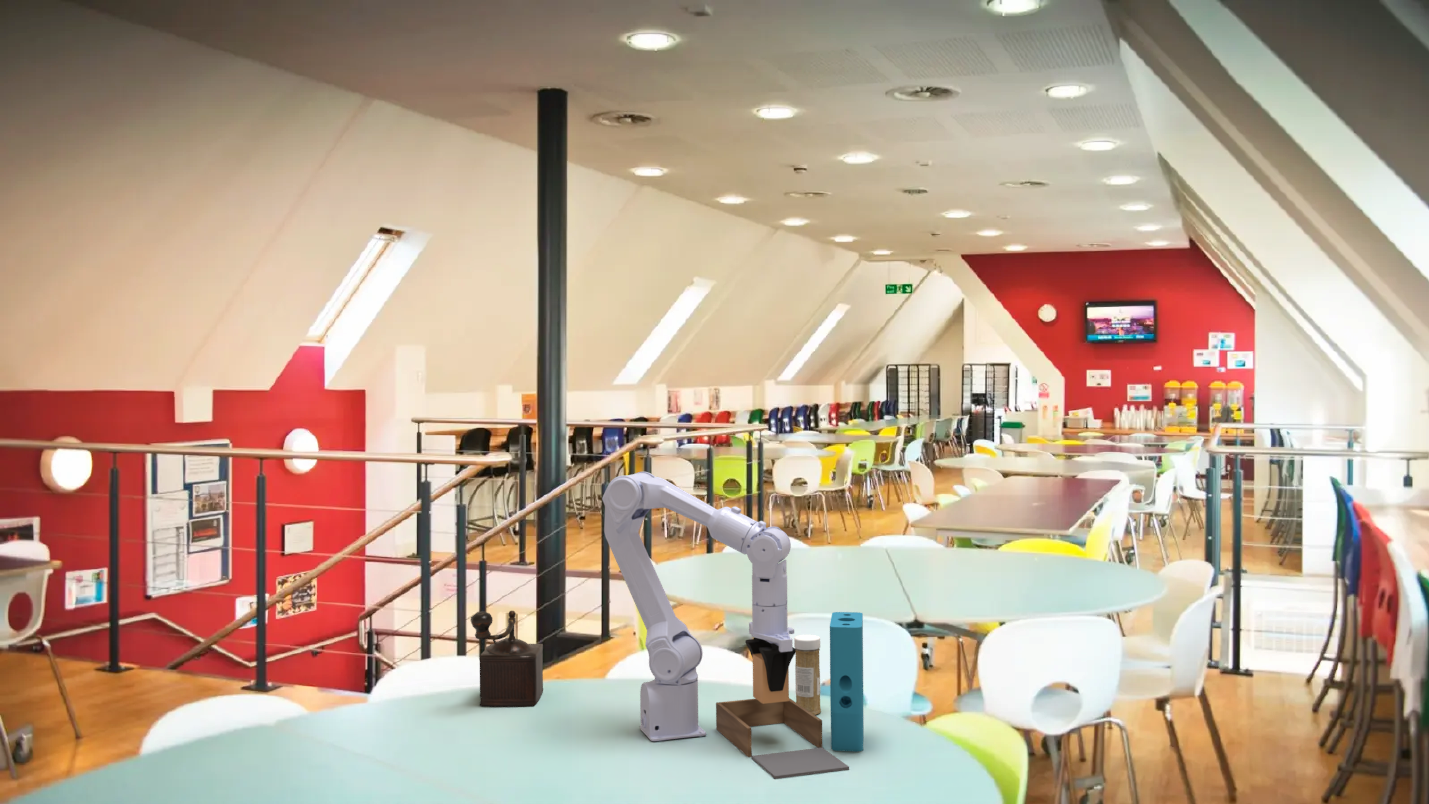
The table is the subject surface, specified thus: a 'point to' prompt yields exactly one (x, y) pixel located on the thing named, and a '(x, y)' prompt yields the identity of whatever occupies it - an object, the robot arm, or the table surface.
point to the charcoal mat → (799, 762)
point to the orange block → (766, 684)
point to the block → (846, 681)
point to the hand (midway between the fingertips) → (770, 686)
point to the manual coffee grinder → (508, 666)
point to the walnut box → (764, 720)
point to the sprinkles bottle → (807, 672)
